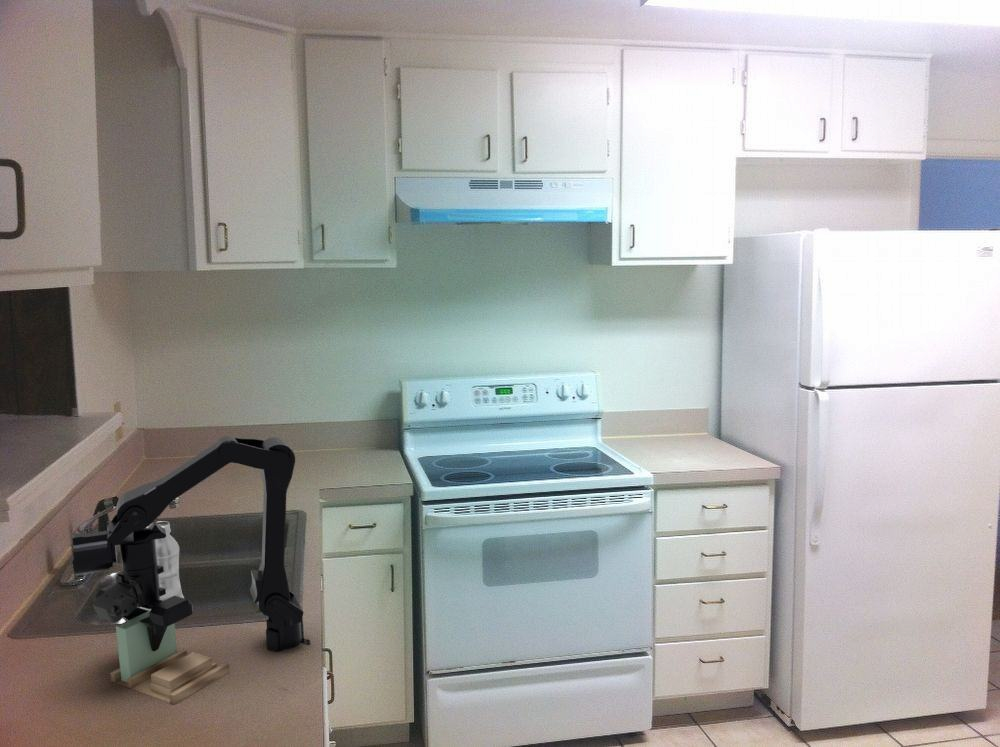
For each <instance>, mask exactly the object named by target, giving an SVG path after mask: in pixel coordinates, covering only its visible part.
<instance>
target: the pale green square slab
mask: <svg viewBox="0 0 1000 747" xmlns="http://www.w3.org/2000/svg"><path fill="white" fill-rule="evenodd" d="M148 613H149V611H148V612H145V613H143V614H141V615H139V616H137V617H135V618H133V619H130V620H128V621H124V622H122V623H120V624H118V625H116V626H115V632H116V642H117V650H118V652H117V653H118V660H119V661H118V662H119V668H120V671H121V680H122V681H125V682H127V678H129V677H131V676H133V675H135V674H137V673H139V672H141V671H143V670H144V669H146V668H148V667H150V666H152V665H154V664H156V663H158V662H160V661H161V660H163V659H165V658H167V657H169V656H171V655H173V654H175V653H177V652H178V644H177V634H176V626H175V625H176V624H175V623H174V624H172V625H170V626H168V627H167V629H166V631H165V634H164V636H163V639H162V641H161V644H160V646H159V649H158V650H156V651H152V649H151V646H150V641H149V636H148V630H147V626H146V625H144V624H143V623H141V622H140V620H142V619H144V618H146V617H148Z"/></svg>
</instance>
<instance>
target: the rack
mask: <svg viewBox="0 0 1000 747" xmlns="http://www.w3.org/2000/svg"><path fill="white" fill-rule="evenodd" d="M187 655H188V650H187V649H185V648H183V649H181V650H179V651H177V653H175V654H173V655H171V656H169V657H167V658H165V659H163V660H161V661H160V662H158V663H156V664H154V665H152V666H150V667H148V668H146V669H144V670H143V671H141V672H139V673H137V674H135V675H133V676H131V677H129V678H127V682H125V681H122V680H121V671H120V667H119V668H117V669H115V670H113V671H112V672H110V675H109V676H110V681H111V682H112V683H115V684H118V685H120V686H124V687H126V688H128V689H131V690H133V691H137V692H140V693H142V694H146V695H148V696H150V697H153V698H156V699H158V700H161V701H164V702H167V703H168V704H172V705H177V704H178V703H180V702H182V701H183V700H185V699H186V698H189V697H190V696H191V695H193V694H194V693H197V692H198V691H199V690H202V689H203V688H205V687H207V686H208V685H210V684H212V683H214V682H215V681H217V680H218V679H220V678H222V677H224V676H226V675H227V674H229V673H230V671H231V669H230V663H228V662H223V663H222V664H220V665H217V667H216V668H215V669H213V670H211V671H209V672H208V673H206V674H204V675H202V676H201V677H199V678H197V679H195V680H194V681H192V682H190V683H188V684H187V685H185V686H183V687H181V688H180V689H178V690H176V691H174V692H173V693H171V694H169V695H170V698H169V697H166V696H163V695H160V694H158V693H155V692H152V691H151V687H150V683H151V682H152V680H151V674H153V673H155V672H157V671H159V670H161V669H163V668H164V667H166V666H168V665H170V664H172V663H174V662H176V661H177V660H179V659H181V658H183V657H185V656H187Z"/></svg>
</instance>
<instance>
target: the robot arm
mask: <svg viewBox="0 0 1000 747" xmlns="http://www.w3.org/2000/svg"><path fill="white" fill-rule="evenodd" d="M231 463H233V464H239V465H243V466H246V467H250V468H254V469H257V470H258V469H259V471H260V472H259V473H260V476H261V481H262V486H263V504H262V506H263V507H262V508H263V509H262V535H261V536H262V539H261V540H262V541H261V562H260V564H259V567H258V569H250V574H251V585H250V587H249V590H250V593H251V596H252V599H253V602H254V603H255V604H257V607H258V609H259V611H260V613H261V614H263V615H264V616H266V617H268V619H266V621H265V622H266V629H265V639H266V650H269V651H271V652H275V653H280V652H282V651H284V650H290V649H293V648H296V647H298V646H299V645H300V644H303V645H305V646H308V645H310V644H311V640H310V639H308V638H305V635H304V634H305V633H304V621H303V618H304V617H303V616H304V613H305V612H304V610H303V608H302V606H301V604H300V602H299V600H298V598H297V595H296V594H295V593H294V592H292V591H291V590H290V587H289V583H288V577H287V573H286V569H285V550H286V549H285V546H286V521H287V520H286V517H287V493H288V489H289V487H290V484H291V481H292V479H293V474H294V469H295V464H296V455H295V453H294V451H293V449H291V447H290V445H289V444H288V443H287V442H286V441H285V440H284V439H282V438H280V437H275V436H274V437H269V438H267V439H258V438H246V437H234V436H232V435H224V436H222V437H220V438H219V439H218V440H217V441H216V442H215V443H213V444H212V445H211V446H209V447H207V448H206V449H204V450H203V451H201V452H200V453H198V454H197V455H195V456H193V457H192V458H191V459H189V460H188V461H186V462H184V463H183V464H181V465H180V466H179V467H178V466H177V467H176V468H175V469H174V470H172V471H171V472H169V473H168V474H166V475H164V476H163V477H161V478H160V479H157V480H155V481H151V482H148V483H145V484H142V485H140V486H138V487H135V488H133V489H130V490H128V491H126V492H125V493H122V494H121V496H120V497H119V498H118V499H117V503H116V508H115V509H116V511H115V514H114V516H113V517H112V518H111V520H110V522H109V523H108V525H107V526H106V529H107V530H103V531H95V532H89V533H83V532H82V533H74V534H73V535H72V538H71V539H72V554H73V555H72V568H73V573H74V576H79V575H80V576H81V575H88V574H94V573H98V572H99V573H100V572H106V571H111V570H112V569H111V568H113V567H114V564H117V563H118V557H117V556H118V555H117V554H118V553H117V546H119V549H120V550H119V551H120V561H121V569H122V571H119V572H117V573H116V574H117V575H116V576H115V577H116V578H115V579H116V581H115V583H112V584H109V585H107V586H105V587H102V588H100V589H99V590H98V592H97V593H96V595H95V600H94V601H93V602H92V606H93V607H94V610H95V612H96V614H97V616H98V618H99V619H100V620H102V621H103V620H105V621H108V622H110V623H111V624H113V623H114V624H115V623H117V622H120V621H121V620H122V619H123V620H124V622H126V621H128V620H130V619H133V618H135V617H137V616H139V615H141V614H143V613H145V612H148V611H149V613H148V617H146V618H144V619H142V620H140V622H141V623H143V624H144V625H146V626H147V630H148V636H149V641H150V646H151V649H152V651H156V650H158V649H159V646H160V644H161V641H162V639H163V636H164V634H165V631H166V629H167V627H168V626H170V625H172V624H174V623H178V622H180V621H181V620H184V619H186V618H188V617H190V616H192V615H193V614H194V609H193V608H194V607H193V602H192V600H191V601H190V600H189V599H188V598H185V597H184V598H181V597H177V596H173V597H170V598H168V599H166V600H159V599H160V596H163V595H165V594H166V590H165V588H161V587H160V583H159V574H160V573H163V572H164V569H163V566H159V565H158V563H157V552H156V542H155V539H161V538H165V537H166V530H165V528H163V527H161V526H159V525H158V524H157V523H156V522H157V521H156V519H158V518H159V517H160V516H161V514H163V512H164V511H165V510H166V508H168V507H169V505H170V504H171V503H173V502H174V501H175V500H176V499H178V498H180V496H182V495H184V494H186V493H187V492H188V491H190V490H192V489H193V488H195V486H197V485H199V484H200V483H201V482H204V481H205V480H207V479H208V478H209V477H211V476H212V475H213V474H216V472H218V471H220V470H221V469H222V468H224V467H226V466H227V465H228V464H231ZM152 523H153V524H152ZM151 524H152V525H151ZM150 525H151V526H150Z"/></svg>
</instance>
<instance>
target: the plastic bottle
mask: <svg viewBox="0 0 1000 747" xmlns="http://www.w3.org/2000/svg"><path fill="white" fill-rule="evenodd" d="M155 522H156V523H157V524H158V525H159V526H161V527H163V528H165V530H166V537H165V538H161V539H155V542H156V552H157V563H158V565H159V566H163V569H164V572H163V573H160V574H159V583H160V587H161V588H165V590H166V594H165V595H163V596H160V599H159V600H166V599H168V598H170V597H173V596H177V597H181V598H184V599H185V596H184V595H183V592H182V586H181V585H182V584H181V581H180V569H179V564H180V560H179V559H180V546H179V545H180V544H178V542H177V541H176V539H175V537H173V536H172V535H171V534H170V533H171V532H172V529H171V525H170V524H171V523H170V522H169V521H166V520H165V521H164V520H163V521H161V520H160V521H155ZM153 523H154V522H152V523H151V524H150V525H149V527H150V526H151V525H152V524H153Z"/></svg>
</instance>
